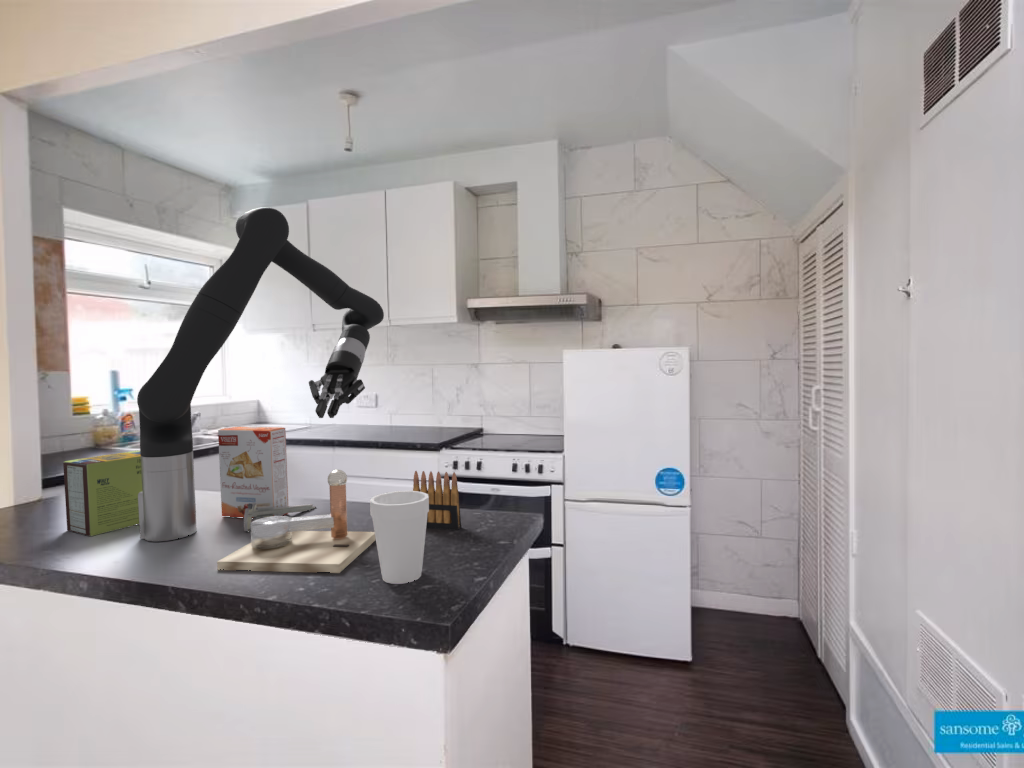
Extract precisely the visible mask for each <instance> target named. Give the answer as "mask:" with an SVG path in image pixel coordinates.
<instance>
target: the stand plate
mask: <svg viewBox="0 0 1024 768" xmlns="http://www.w3.org/2000/svg"><path fill="white" fill-rule="evenodd" d="M347 534H348V535H347V536H345V537H342V538H332V537H331V530H304V531H294V532H292V541H291V542H290V543H288V544H286V545H284V546H280V547H276V548H270V549H256V548H253V547H252V546H251V542H249V543H248V544H246V545H244V546H242V547H240V548H239V549H236V550H235V551H233V552H232V553H230V554H227V556H224V557H223V558H221V559H219V560H217V562H216V564H217V565H216V566H217V571H236V570H248V571H247V572H278V573H279V572H280V573H281V572H282V573H287V572H288V573H317V572H330V573H329V574H340V573H341V572H342V571H344V569H345V568H347V567H348V566H349V565H350V564H351V563H352V562H354V561H355V560H356V559H357V558H358V556H359V557H360V555H361V554H362V553H363V552H364V551H366V550H367V549H368V548H369V547H370V546H371V545H372V544H373V543H374V542H376V538H375V532H374V531H352V530H351V531H348V530H347ZM220 569H221V570H220ZM223 569H224V570H223ZM249 570H251V571H249Z"/></svg>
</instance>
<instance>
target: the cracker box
mask: <svg viewBox="0 0 1024 768" xmlns="http://www.w3.org/2000/svg"><path fill="white" fill-rule="evenodd" d="M217 435H218V436H217V437H218V459H219V461H218V462H219V478H220V479H219V482H220V483H219V484H220V500H221V501H220V502H221V504H220V505H221V507H220V508H221V517H222V516H230V517H243V518H244V514H245V509H247V508H248V504H249V503H252V504H253V503H257V506H256V507H266V506H274V508H276V507H286V506H289V486H288V484H289V483H288V462H287V435H286V427H282V426H281V427H279V426H278V427H273V426H271V427H270V426H269V427H267V426H265V427H264V426H263V427H262V426H232V427H224V428H220V429H217ZM288 514H289V513H285V514H276V515H273V516H283V515H284V516H287V515H288ZM252 518H253V517H252Z"/></svg>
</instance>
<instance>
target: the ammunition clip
mask: <svg viewBox="0 0 1024 768" xmlns="http://www.w3.org/2000/svg"><path fill="white" fill-rule="evenodd" d="M421 472H422V473H421V475H420V477H419V473H418V471H417V470H415V471H414V475H413V479H412V480H413V486H412V491H418V492H424V493H426V494H428V497H429V512H428V515H427V525H426V529H437V530H439V529H440V530H451V531H458V530H459V529H461V528H462V520H461V518H462V517H461V507H460V499H459V497H460V495H459V488H458V479H457V474H456V472H455V471H453V473H452V476H451V486H450V479H449V478H450V477H449V474H448V472H447V471H445V473H444V477H443V485H442V476H441V472H440V471H439V470H438V471H437V473H436V476H435V477H436V478H435V477H434V474H433V472H432V470H430V471H429V474H428V481H427V476H426V472H425V470H423V471H421ZM434 479H435V480H434ZM427 482H428V483H427Z"/></svg>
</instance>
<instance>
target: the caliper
mask: <svg viewBox="0 0 1024 768" xmlns="http://www.w3.org/2000/svg"><path fill="white" fill-rule="evenodd" d="M256 506H257V503H253V504H252V503H249V504H248V508H247V509H245V514H244V519H243V529H244V530H243V531H244V532H245V531H250V532H251V525H250V524H251V522H253V521H255V520H258V519H261V518H265V517H271V516H273V515H276V514H285V513H288V514H291V513H292V514H293V513H303V512H308V511H307V510H309V511H311V510H310V509H312V510H313V509H316V508H315V507H317V506H315V505H314V504H309V503H308V504H299V505H296V504H295V505H288V506H286V507H276V508H274V506H266V507H256ZM252 517H253V519H252Z"/></svg>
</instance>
